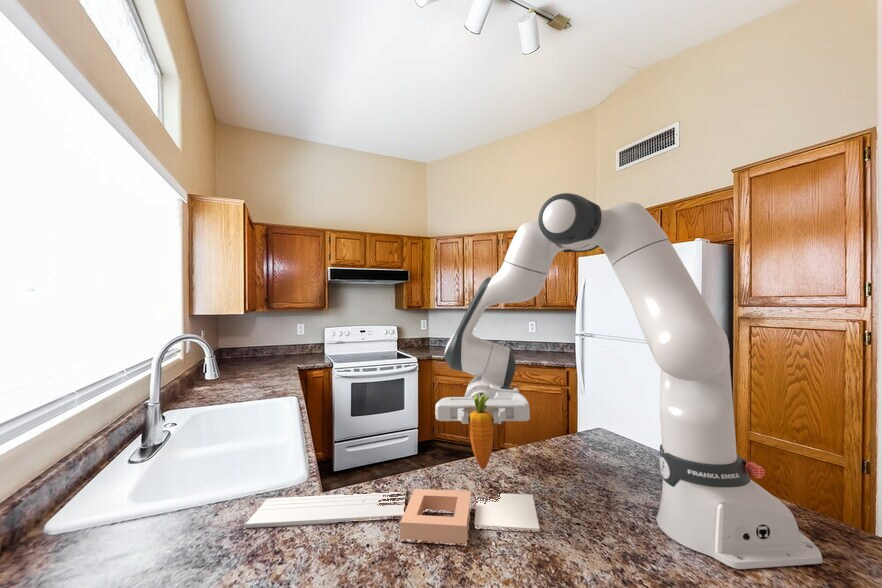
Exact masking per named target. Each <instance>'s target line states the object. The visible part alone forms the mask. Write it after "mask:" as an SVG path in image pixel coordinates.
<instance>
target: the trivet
mask: <svg viewBox="0 0 882 588" xmlns="http://www.w3.org/2000/svg"><path fill="white" fill-rule="evenodd" d="M500 493H501V492H500ZM498 495H499V494H498ZM500 497H501V498H500ZM500 497H498V498H500V499H498V500H499V501H498V500H497V501H498V502H497V501H496V500H494V499H493V500H494V501H496V502H494V501H493V502H492V501H490V500H492V499H490V500H488V501H490V502H486V504H484V503H485V501H484V502H483V501H478V500H480V499H478V500H476V501H478V503H476V502H475V511H474V512H475V513H474V525H476V526H492V527H504V528H512V529H521V530H523V529H526V530H534V531H540V532H541V529H540V523H539V519H538V514H537V510H536V505H535V501H534V495H533V494H527V493H526V494H525V493H523V494H522V493H501V494H500ZM488 499H489V498H488ZM496 499H497V498H496ZM481 500H482V499H481ZM484 500H485V499H484ZM480 502H481V503H480ZM482 502H483V503H482Z"/></svg>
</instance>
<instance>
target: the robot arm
mask: <svg viewBox="0 0 882 588" xmlns="http://www.w3.org/2000/svg"><path fill="white" fill-rule="evenodd" d="M598 248H600V249H602V251H603V252H604V254H605V255H606V257H607V259H608V261H609V262H610V265H611V267H612V269H613V272H614V273H615V274H616V276H617V278H618V280H619V282H620V284H621V287H623V290H624V292H625V294H626V295H627V298H628V300H629V302H630V303H631V304H630V305H631V306H632V309H633V311H634V314H635V316H636V320H637V321H638V325H639V327H640V330H641V332H642V334H643V336H644V339H645V341H646V343H647V346H648V348H649V350H650V352H651V354H652V357H653V359H654V361H655V363H656V365H658V366H659V368H660V390H659V391H660V393H659V416H660V417H659V418H660V429H661V430H660V434H661V444H660V445H659V470H660V475H661V479H662V485H661V486H662V488H661V497H660V502H659V503H660V504H659V508H658V511H657V515H656V523H657V525H658V527H659V528H660V529H661V531H662V532H663V533H664V534H666V535H667V536H668V537H669V538H670V539H672V540H674V541H675V542H677V543H678V544H680V545H682V546H684V547H686V548H689V549H690V550H693V551H695V552H697V553H701V554H704V555H707V556H709V557H711V558H712V559H715V560H717V561H719V562H721V563H722V564H724V565H726V566H728V567H731V568H732V569H736V570H749V569H750V570H751V569H761V568H776V567H787V566H788V567H791V566H805V565H819V564H822V563H824V560H823V559H824V558H823V555H822V553H821V551H820V549H819V547H818V546H816V544H815V543H814V542H813V541H812V540H811V539H809V538H808V536H806V535H805V534H803V533H802V532H801V531H800V529H799V525H798V522H797V521H796V518H795V516H794V514H793V513H792V511H791V510H790V508H789V507H787V506H786V504H785V503H784V502H782V501H781V500H779V499H778V498H777V497H775V496H774V495H773V494H771V492H769V491H767V490H766V489H765V488H763V487H762V486H760V485H759V484H758V483H757V482H755V481H754V480H752V479H751V478H750V477H751V476H750V475H752V476H753V477H755V478H756V479H762V478H764V476H765V475H766V471H765V469H764V468H763V467H762V466H761V465H759V464H757V463H755V462H753V461H748V460H746V459H745V458H744V457H741V456H739V455H738V454H737V441H736V440H737V439H736V428H735V427H736V425H735V414H734V413H735V412H734V401H733V388H732V376H731V375H732V374H731V364H730V363H731V361H730V360H731V359H730V343H729V341H728V340H729V339H728V336H727V334H726V332H725V330H724V329H723V328H722V327H721V326H720V325H719V324H718V322H717V320H716V319H715V317H714V315H713V313H712V311H711V310H710V308H709V307H708V305H707V303H706V301H705V300H704V298H703V296H702V293H701V292H700V291H699V289H698V287H697V285H696V283H695V281H694V280H693V278H692V276H691V274H690V273H689V271H688V270H687V268H686V266H685V265H684V263H683V261H682V259H681V257H680V256H679V254H678V252H677V251H676V248H675V247H674V245H673V244H672V242H671V241H670V239H669V237H668V236H667V234H666V232H665V231H664V230H663V229H662V227H661V225H660V224H659V223H658V221H657V220H656V219H655V218H654V217H653V215H652V214H651V213H650V212H649V211H648V210H647V209H646V208H645V207H644V206H643V205H641V204H639V203H638V202H631V201H629V202H623V203H620V204H619V203H618V204H616V205H615V206H613V207H611V208H608V209H605V210H604V209H601V206H600V205H599V204H597V203H595V202H593V201H591V200H589V199H587V198H585V197H584V196H581V195H580V194H576V193H570V192H564V193H557V194H555V195H553V196H551V197H549V199H547V200H546V201H545V202H544V204H543V205H542V206H541V208H540V210H539V213H538V220H537V221H535V220H531V221H527V222H524V223H522V224H521V225H520V226H519V227H518V229H517V230H516V233H515V234H514V236H513V238H512V239H511V242H510V244H509V247H508V249H507V251H506V254H505V256H504V259H503V263H502V264H501V267H500V268H499V270H498V271H497V272H496V273H495V274H494V275H492V276H490V277H489V276H488V277H486V278H485V279H484V280H483V281H482V283H481V284H480V286H479V287H478V289H477V291H476V293H475V295H474V296H473V298H472V300H471V301H470V304H469V305H468V307H467V309H466V311H465V314H464V315H463V316H462V319H461V321H460V322H459V326H458V327H457V329H456V331H455V332H454V333H453V334H452V336H451V337H450V338H449V340H448V342H447V344H446V346H445V349H444V356H443V358H444V361H445V363H446V364H447V365H448V366H449V368H450V369H451V370H453V371H454V370H455V371H458V372H463V373H467V374H470V375H473V376H474V377H473V378H472V379H471V380H470V381H469V384H468V385H467V386H466V391H465V393H464V396H446V397H443V398H441V399H439V400H438V401H437V402H436V403H435V405H434V406H435V407H434V408H435V410H434V414H435V415H434V416H435V419H436V420H437V421H439V422H461V425H462V424H463V425H465V424H466V425H467V424H468V425H469V415H470V414H471V413H472V412H474V411H477V408H476V406H475V402H474V398H475V397H474V395H475V394H477V395H478V398H479V401H480V398H481V396H482V395H485V398H486V397H489V399H488V400H487V401H486V403H485V405H487V407H486V408H485V409H484V411H488V412H489V413H491V414H492V416H493V425H502V422H528V421H530V419H531V417H530V416H531V415H530V403H529V401H528V400H527V398H526V397H525V396H524V395H523V394H521V393H520V390H519V389H518V388H517V387H510V386H511V384H512V382H513V379H514V377H515V373H516V372H515V371H516V367H517V366H516V364H517V362H516V361H517V359H516V357H515V355H514V352H513V350H512V349H511V348H510V347H507V346H504V345H501V344H499V343H496V342H491V341H489V340H486V339H483V338H480V337H478V336H475V335H474V334H473V332H474V330H475V328H476V326H477V324H478V322H479V321H480V319H481V317H482V315H483V313H484V311H485V310H486V309H487V308H488V307H490V306H494V305H497V304H511V303H512V304H513V303H522V302H525V301H528V300H532V299H533V298H536V296H538V295H539V294H540V292H541V291H542V289H543V287H544V284H545V283H546V280H547V277H548V276H549V275H548V274H549V272H550V270H551V266H552V264H553V260H554V259H555V257H556V256H557V255H558V254H559V253H560V252H563V253H586V252H590V251H594V250H596V249H598ZM747 461H748V462H747Z"/></svg>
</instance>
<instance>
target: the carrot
mask: <svg viewBox="0 0 882 588" xmlns="http://www.w3.org/2000/svg"><path fill="white" fill-rule="evenodd" d="M474 397H475V398H474V402H475V406H476V408H477V411H474V412H472V413H471V414H470V415H469V424H468V430H469V439H470V444H471V449H472V453H473V456H474V457H475V460H476V462H477V465H478V466H479V468H481V470H482V471H484V470H485V468H487V466H488V463H489V461H490V459H491V457H492V452H493V451H492V450H493V445H494V421H493V416H492V414H491V413H489V412H488V411H484V409H485V408H486V407H487V405H485V403H486V401H487V400H488V399H489V397H486V398H485V395H482V396H481V398H480V401H479V398H478V395H477V394H475V395H474Z"/></svg>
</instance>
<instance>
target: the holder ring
mask: <svg viewBox="0 0 882 588" xmlns="http://www.w3.org/2000/svg"><path fill="white" fill-rule="evenodd" d="M410 496H411V497H410V499H409V501H408V503H407V506H406V507H405V512H404V515H403V517H402V519H400V522H399V524H400V525H399V526H400V527H399V528H400V540H401V539H412V540H422V541H430V542H445V543H467V540H468V541H469V535H468V530H469V531H470V526H469V521H470V522H471V516H470V512H471V513H472V491H471V490H455V489H454V490H451V489H431V488H430V489H429V488H428V489H427V488H425V489H424V488H414V489H413V492H412V494H411V495H410ZM424 509H432V510H446V511H455V514H453V516H444V515H443V516H442V515H440V516H438V515H427V514H426V515H425V514H424V515H422V514H423V511H424Z"/></svg>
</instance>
